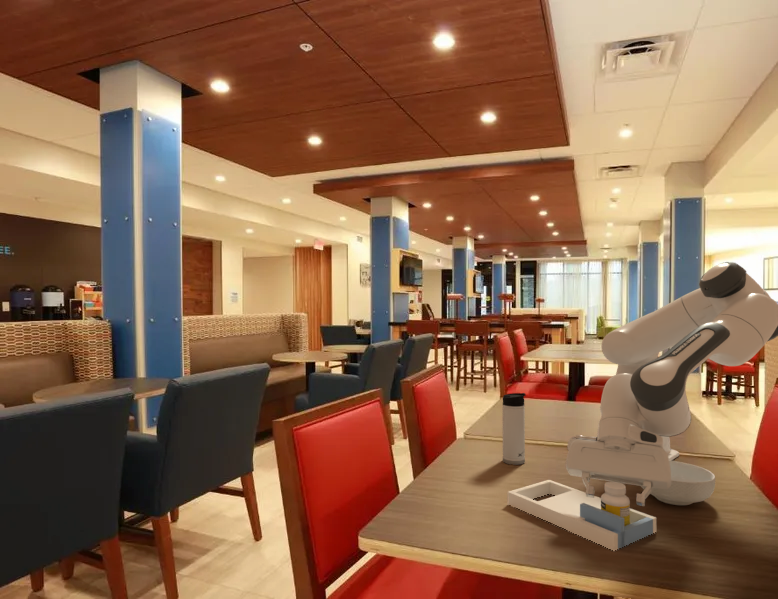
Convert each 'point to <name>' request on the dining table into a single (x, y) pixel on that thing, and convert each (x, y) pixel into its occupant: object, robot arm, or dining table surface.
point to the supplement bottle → (616, 501)
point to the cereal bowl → (686, 485)
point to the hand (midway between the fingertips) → (614, 500)
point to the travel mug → (514, 428)
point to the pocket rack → (581, 514)
